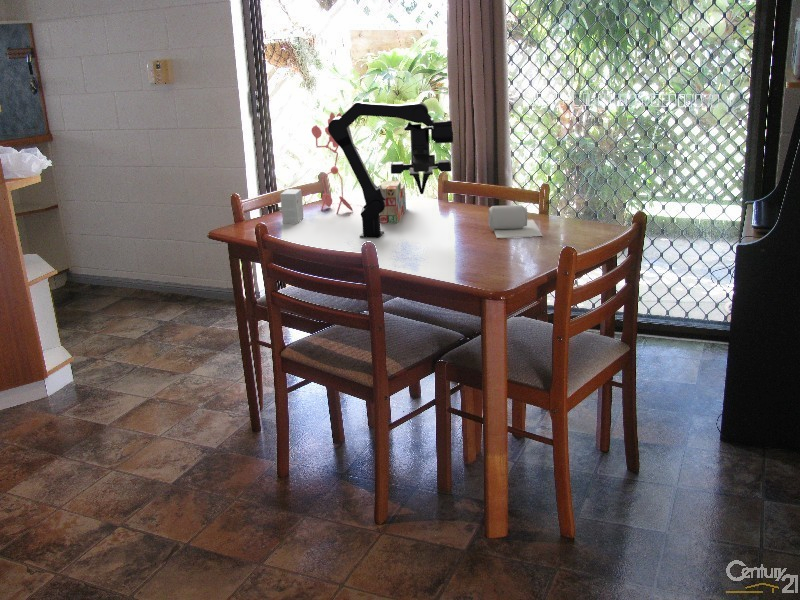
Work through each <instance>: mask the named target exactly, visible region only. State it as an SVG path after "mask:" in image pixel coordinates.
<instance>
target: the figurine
mask: <svg viewBox="0 0 800 600" xmlns="http://www.w3.org/2000/svg"><path fill="white" fill-rule="evenodd" d="M342 115H343V114H342V113H341V112H338V113H337V114H336V115H335V114H334V112H330V114H329V118H328V119H327V124H328V126H329V123H330V122H331V121H332V120H333V119H334V118H335V117H341V116H342ZM328 126H326V127H325V128H324V132H325V134H326V135H328V142H327V143H326V145H318V139H319V138H321V136H322V130H321V128H320V127H319V126H318V125H313V126H312V128H311V133H312V135H313V137H314V138H315V148H317V149H318V148H325V149H328V150H330V151H332V153H334V154H336V156H335V163H334V166H332V167H331V168H330V171H329V172H327V173H326V174H324V175H322V176H321V181H322V185H323V189H324V193H323V194H322V197H321V199H322V205H321V208H320V211H323V209H324V206H325V205H326V206H328V208H330V207H331V205H333V198H332V197H331V195H330V194H328V193H327V191H326V187H325V182H324V179H323V177H326V176H328V175H330V174H332V175H336V174H337V175H338V177H339V178H340V180H341V184H340V185H341V196H339V197H338V198H339V200H340V201H339V203H338V207H337V210H336V215H338V214H339V211H340V208H341V205H344V206H345V207H346V208H348V209H349V211H351V212H354V211H353V208H352V206H351V204H350V203H349V201H347V200H346V199H345V198H344V191H343V189H344V187H343V177H342V176H341V174H340V172H339V168H338V167H337V162H338V156H339V153H338V148H339V147H340V146H339V145H338V144H337V143H336V142H335V140H334V139H333V138H332V136H331V135H330V134H329V131H328ZM330 143H332V147H333V148H334V149H333V148H332V147H329V144H330ZM355 147H356V149H357V151H359V150H360V149H359V148H358V147H357V146H356V145H355ZM363 207H364V206H362V205H361V208H363ZM347 216H350V215H349V214H348V215H345V217H347Z"/></svg>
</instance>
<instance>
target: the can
mask: <svg viewBox="0 0 800 600" xmlns="http://www.w3.org/2000/svg"><path fill="white" fill-rule="evenodd" d="M527 220H528V208H527V207H526V206H523V205H522V204H515V205H514V204H513V205H492V206H491V207H489V208H488V227H489V228H490V230H493V231H494V229H522V228H523V227H524V226H527Z"/></svg>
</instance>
